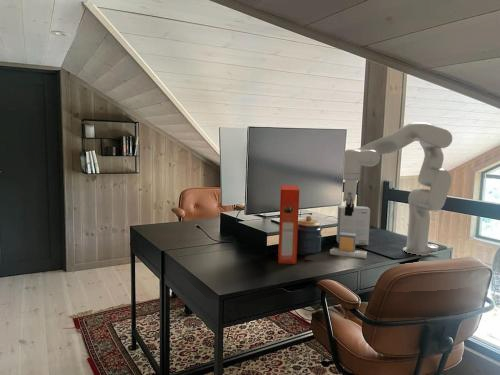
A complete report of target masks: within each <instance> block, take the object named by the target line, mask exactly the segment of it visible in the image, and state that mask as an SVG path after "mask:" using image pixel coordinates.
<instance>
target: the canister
mask: <svg viewBox="0 0 500 375" xmlns="http://www.w3.org/2000/svg"><path fill="white" fill-rule="evenodd" d="M322 231H323V227H321V223H320V222H319V221H318V220H316V219H313V218H312V216H311V215H307V216H306V218H302V219H301V218H300V220H299V219H298V238H297V255H301V256H307V255H308V254H317V253H320V252H322V236H323V235H322Z"/></svg>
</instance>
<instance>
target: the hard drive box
mask: <svg viewBox="0 0 500 375" xmlns="http://www.w3.org/2000/svg"><path fill="white" fill-rule="evenodd" d="M345 207H346V205H342V206H341V205H337V218H336V219H337V221H336V225H337V224H338V227H337V226H336V242H337V244H339V236H340V233H341V232H345V233H354V234H356V241H355V245H356V246H357V245H360V246H369V243H370V242H369V241H370V240H369V239H370V224H371V211H372V210H371V208H369V207H368V206H358V205H357V206H355V205H354V212H352V216H345Z"/></svg>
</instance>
